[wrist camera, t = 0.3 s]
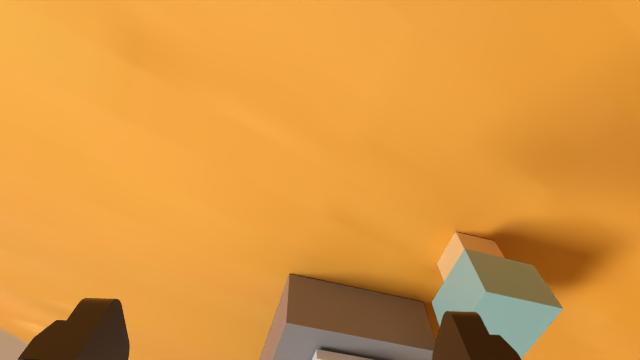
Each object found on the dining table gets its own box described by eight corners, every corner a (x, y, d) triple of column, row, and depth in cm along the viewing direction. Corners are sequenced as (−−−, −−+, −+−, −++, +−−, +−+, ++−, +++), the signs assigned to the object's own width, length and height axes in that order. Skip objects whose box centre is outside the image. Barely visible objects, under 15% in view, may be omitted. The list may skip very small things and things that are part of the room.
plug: (449, 218, 31) (486, 291, 24) (512, 234, 32) (563, 308, 25) (420, 270, 34) (446, 348, 27) (479, 283, 34) (518, 362, 28)
